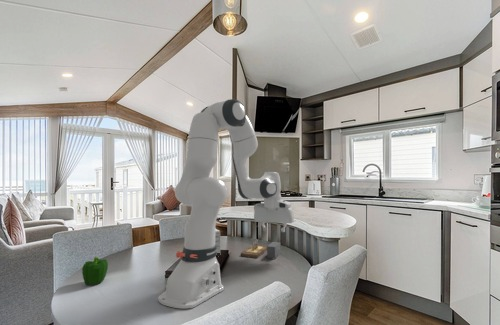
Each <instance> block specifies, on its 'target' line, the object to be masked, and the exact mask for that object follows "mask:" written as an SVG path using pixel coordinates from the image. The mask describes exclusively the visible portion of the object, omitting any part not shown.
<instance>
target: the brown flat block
mask: <svg viewBox="0 0 500 325" xmlns="http://www.w3.org/2000/svg"><path fill="white" fill-rule="evenodd" d="M267 246H268V245H260V244H259V243H258V239H255V240H254V241H252V243H251V245H250V246H249V247H247V248H246V249H245V250H242V251H241V252H240V257H245V258H247V257H248V258H254V259H258V258H259V257H260V256H261V255H263V254H264V253H266V252H267Z"/></svg>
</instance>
